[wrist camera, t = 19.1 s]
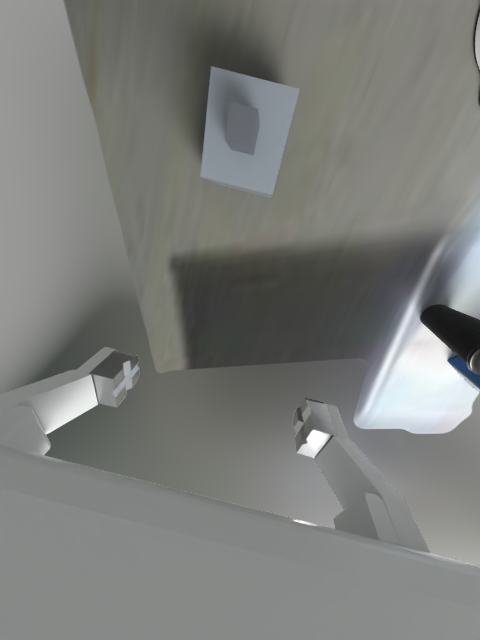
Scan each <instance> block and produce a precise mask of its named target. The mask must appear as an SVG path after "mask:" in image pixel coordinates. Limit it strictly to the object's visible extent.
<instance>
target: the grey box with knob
mask: <svg viewBox="0 0 480 640" xmlns="http://www.w3.org/2000/svg"><path fill="white" fill-rule="evenodd" d="M299 90H300V89H298V88H294V87H290V86H286V85H282V84H279V83H275V82H271V81H267V80H263V79H259V78H255V77H251V76H247V75H244V74H240V73H236V72H232V71H228V70H224V69H220V68H216V67H212V66H211V72H210V82H209V93H208V103H207V114H206V124H205V135H204V145H203V155H202V166H201V176H200V177H202V178H204V179H206V180H208V181H210V182H212V183H214V184H216V185H220V186H224V187H228V188H232V189H236V190H239V191H243V192H247V193H251V194H255V195H259V196H263V197H267V198H270V199H272V195H273V191H274V187H275V183H276V179H277V176H278V172H279V168H280V164H281V160H282V156H283V152H284V148H285V145H286V141H287V137H288V133H289V129H290V125H291V121H292V117H293V114H294V110H295V106H296V102H297V98H298V94H299Z"/></svg>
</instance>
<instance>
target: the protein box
mask: <svg viewBox="0 0 480 640" xmlns="http://www.w3.org/2000/svg"><path fill="white" fill-rule="evenodd" d="M448 362H449V363H450V364H451V365H452V366H453V367H454V368H455V370H456V371H457V372H458V373H459V374H460V375H461V376H462V377H463V378H464V379H465V380H466V381H467V382H468V383H469V384H470V385H471V386H472V387H473V388H475V389H476V390H477V391H478V392H479V393H480V375H478V374H476V373H474V372H472V371H471V370H470V369H469V368H468V366H467V364H466V363H465V362H464V361H463V360H462V359H461V358H460V357H459V356H458V355H457V356H455V357H453V358H451V359H449V360H448Z"/></svg>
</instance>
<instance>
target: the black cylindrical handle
mask: <svg viewBox="0 0 480 640" xmlns="http://www.w3.org/2000/svg"><path fill="white" fill-rule="evenodd" d="M421 322H422V323H423V324H424V325H425V326H426V327H427V328H429V329H430V330H431V331H432V332H433V333H434V334H435V335H436V336H437V337H438V338H439V339H440V340H441V341H443V342H444V343H445V344H446V345H447V346H448V347H449V348H450V349H451V350H452V351H453V352H454V353H455V354H457V355H458V356H459V357H460V358H461V359H462V360H463V361H464V362H465V363H466V364H467V366H468V368H469V369H470V370H471V371H472V372H474V373H476V374H478V375H480V320H479V319H476V318H474V317H471V316H469V315H466V314H464V313H461V312H459V311H456V310H454V309H451V308H449V307H446V306H444V305H434V306H431V307H429V308H427V309H426V310H425V311H424V312H423V313H422V315H421Z"/></svg>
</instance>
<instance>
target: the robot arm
mask: <svg viewBox="0 0 480 640" xmlns="http://www.w3.org/2000/svg"><path fill="white" fill-rule="evenodd" d="M475 53H476V59H477V63H478V66H479V69H480V14H479V18H478V23H477V28H476V36H475ZM138 362H139V357H138V356H137V355H134V354H130V353H126V352H123V351H119V350H115V349H112V348H107V347H106V348H103V349H101V350H100V351H99V352H98V353H97V354H95V355H94V356H93V357H92V358H91V359H89V360H88V361H87V362H86V363H84V364H83V365H82V366H81V367H80V368H78V369H77V370H70V371H68V372H65V373H62V374H59V375H56V376H53V377H50V378H47V379H44V380H41V381H38V382H35V383H33V384H30V385H27V386H24V387H21V388H18V389H15V390H12V391H9V392H6V393H4V394H0V640H480V566H479V565H475V564H471V563H467V562H463V561H460V560H456V559H451V558H448V557H444V556H440V555H435V554H432V553H430V551H429V549H428V547H427V545H426V542H425V540H424V538H423V536H422V534H421V532H420V530H419V528H418V526H417V524H416V522H415V520H414V518H413V515H412V513H411V511H410V509H409V507H408V505H407V503H406V501H405V500H404V499H403V498H402V497H401V495H400V494H399V493H398V492H397V491H396V490H395V489H394V487H393V486H392V485H391V484H390V483H389V482H388V481H387V480H386V479H385V477H384V476H383V475H382V474H381V473H380V472H379V470H378V469H377V468H376V467H375V466H374V465H373V464H372V463H371V462H370V461H369V459H368V458H367V457H366V456H365V455H364V454H363V452H362V451H361V450H360V449H359V448H358V447H357V446H356V445H355V443H354V442H353V441H351V440H349V439H348V436H347V433H346V430H345V428H344V425H343V422H342V420H341V417H340V414H339V411H338V409H337V407H336V406H335V405H332V404H328V403H323V402H320V401H316V400H312V399H307V398H303V399H302V400H301V402H300V407H299V408H297V409H296V410H295V412H294V416H293V428H294V430H295V431H296V433H297V435H296V437H295V444H296V452H297V453H299V454H302V455H306V456H310V457H313V458H315V460H316V462H317V464H318V466H319V467H320V469H321V471H322V473H323V474H324V476H325V478H326V480H327V481H328V483H329V485H330V487H331V488H332V490H333V492H334V494H335V495H336V497H337V499H338V501H339V502H340V504H341V506H342V507H343V509H344V510H343V511H341V512H340V513H339V514H337V515H336V516H335V518H334V524H335V529H333V528H328V527H325V526H321V525H317V524H313V523H309V522H305V521H301V520H297V519H293V518H289V517H285V516H281V515H277V514H274V513H270V512H265V511H262V510H258V509H254V508H249V507H246V506H242V505H238V504H234V503H230V502H226V501H221V500H218V499H214V498H210V497H206V496H202V495H198V494H194V493H190V492H186V491H182V490H179V489H174V488H170V487H167V486H163V485H159V484H155V483H151V482H147V481H143V480H139V479H135V478H131V477H127V476H123V475H119V474H115V473H111V472H107V471H103V470H99V469H95V468H91V467H87V466H83V465H79V464H75V463H71V462H67V461H64V460H60V459H56V458H52V457H47V456H44V454H45V453H46V452H47V451H48V450H49V449H50V445H51V444H50V442H49V440H48V438H47V436H46V434H48V433H50V432H52V431H53V430H55V429H57V428H58V427H60V426H61V425H64V424H65V423H67V422H68V421H70V420H72V419H74V418H75V417H77V416H79V415H81V414H82V413H84V412H86V411H87V410H89V409H91V408H93V407H94V406H96V405H98V403H100V404H104V405H109V406H113V407H118V405H119V404H120V403H121V401H122V400H123V399H124V398H125V396H126V390H128V389H130V388H132V387H133V386H134V384H135V383H136V381H137V379H138V377H139V373H140V369H139V367H138V366H137V363H138Z"/></svg>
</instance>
